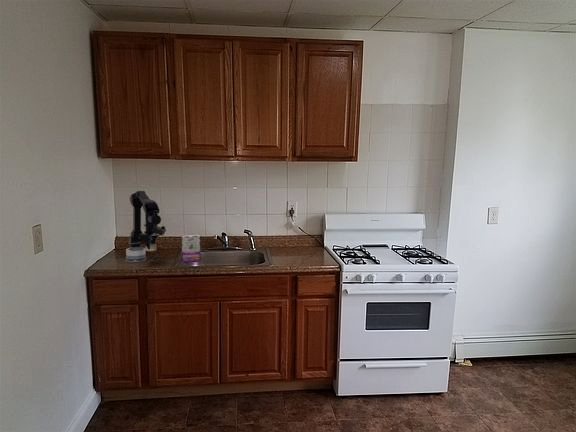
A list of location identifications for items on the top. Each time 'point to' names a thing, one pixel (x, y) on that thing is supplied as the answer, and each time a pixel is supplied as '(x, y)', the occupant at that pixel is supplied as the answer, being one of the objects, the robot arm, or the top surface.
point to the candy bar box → (191, 248)
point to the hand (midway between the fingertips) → (151, 248)
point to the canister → (135, 254)
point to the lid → (151, 247)
